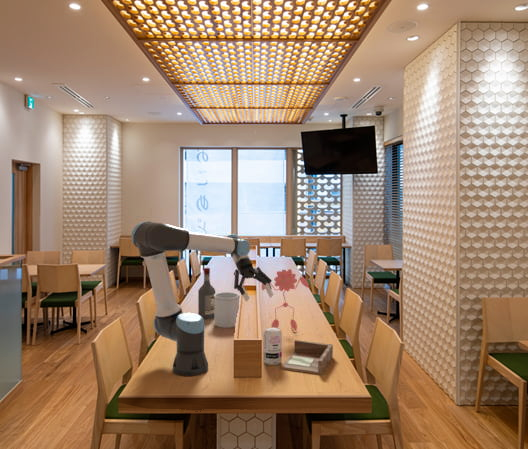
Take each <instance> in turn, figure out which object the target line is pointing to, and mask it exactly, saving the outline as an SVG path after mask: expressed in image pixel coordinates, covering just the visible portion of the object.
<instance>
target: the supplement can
mask: <svg viewBox="0 0 528 449" xmlns="http://www.w3.org/2000/svg"><path fill="white" fill-rule="evenodd" d="M282 343H283V332H282V331H281V328H279V327H278V328H276V327H272V326H271V327H265V328H264V331H263V352H262V353H263V356H262V358H263V359H262V360H263V363H264V364H266V365H269V366H277V365H279V363H280V364H281V363H282V357H283V355H282V354H283V351H282V350H283V349H282V347H283V344H282Z"/></svg>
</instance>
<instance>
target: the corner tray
mask: <svg viewBox="0 0 528 449" xmlns="http://www.w3.org/2000/svg"><path fill="white" fill-rule="evenodd" d="M293 343H294V346H293V348H294V349H293V350H294V351H293V352H292V353H291V355H289V357H288V358H287V359H286V360H285V361H284V362H283V364H282V365H281V366H280V369H281V370H285V369H287V370H286V371H292V370H293V372H299V371H300V372H299V373H305V372H307V373H306V374H312V373H314V374H313V375H319V374H321V375H323V374H324V373H325V371H326V369H327V367H328V366H329V364H330V363H331V361H330V360H332V359H333V354H334V352H333V349H334V346H333V344H330V343H329V344H328V343H323V342H322V343H321V342H314V341H306V340H300V339H299V340H298V339H297V340H296V339H295V340H294V342H293ZM331 358H332V359H331ZM328 363H329V364H328ZM327 365H328V366H327ZM325 368H326V369H325ZM322 373H323V374H322ZM321 375H320V376H321Z"/></svg>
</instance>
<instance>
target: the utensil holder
mask: <svg viewBox="0 0 528 449" xmlns="http://www.w3.org/2000/svg"><path fill="white" fill-rule="evenodd" d="M240 297H241V294H240V293H239V292H234V291H222V292H219V291H218V292H215V294H214V317H213V318H214V326H215V327H218V328H222V329H223V328H225V329H228V328H234V327H236V326H235V323H236V317H237V313H238V310H239V311H240Z"/></svg>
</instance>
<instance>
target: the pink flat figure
mask: <svg viewBox="0 0 528 449" xmlns="http://www.w3.org/2000/svg"><path fill="white" fill-rule="evenodd" d="M296 276H297V275H296V273H293V271H292V269H291V268H290V269H289V268H288V269H287V270H286V269H282V270H279V271H276V276H275V278H274V281H275V283H274V284H272V282H271V283H270V286H271V288H273V290H274V291H280V292H283V293H282V296H283V301H284V302H283V303H282V305H280V306H278V307H275V308H274V313H275V317H277V312H276V310H277V309H279V308H281V307H284V308H288V307H289V308H291V309H292V311H293V312H292V319H290V322H289V323H290V326H291V328H290V329H293V330H294V331H295V332H297V330H298V329H297V328H298V325H297V322H296V320H295V319H294V317H295V316H294V315H295V308H294V307H293V306H290V305H289V304H288V303H287V302H286V297H285V292H289V291H290V290H296V289H297V288H298V285H299V283H301V284H302V286H304V287H306V288H310V285H309V281H308V280H307V279H306V278H305V277H303V276H299V278H298V279H297V278H296ZM295 284H296V285H295ZM264 286H265V285H264V284H263V283H261V290H262V291H264V290H266V289H265V287H264ZM274 286H275V287H278V288H277V289H276V288H275V287H274ZM279 324H280V322H279V320H278V319H277V318H275V319H273V321H272V322H271V327H276V328H279Z"/></svg>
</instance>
